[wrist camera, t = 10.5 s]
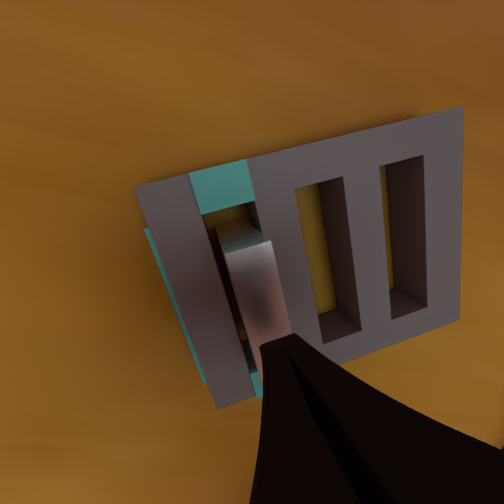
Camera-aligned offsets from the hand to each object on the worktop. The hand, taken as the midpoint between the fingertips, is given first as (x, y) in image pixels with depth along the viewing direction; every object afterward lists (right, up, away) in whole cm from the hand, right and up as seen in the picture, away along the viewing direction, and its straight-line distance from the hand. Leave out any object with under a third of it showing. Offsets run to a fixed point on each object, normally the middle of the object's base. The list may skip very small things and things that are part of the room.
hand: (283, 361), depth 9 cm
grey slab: (-2, +2, +8) cm, 9 cm away
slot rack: (+3, +4, +9) cm, 10 cm away
